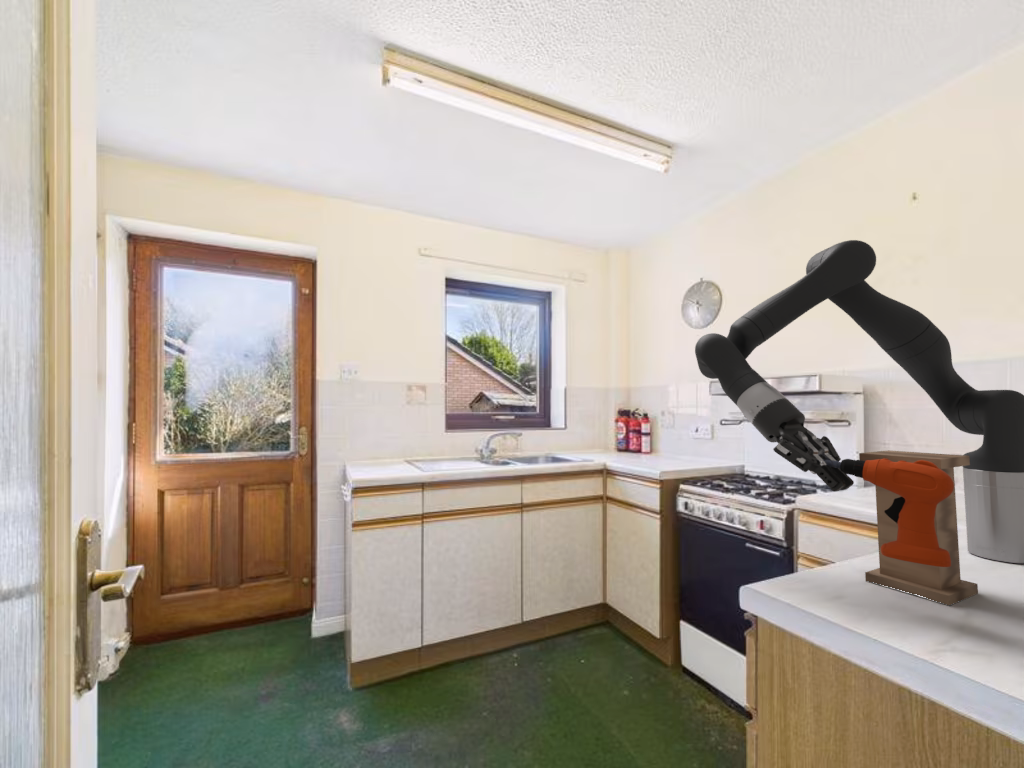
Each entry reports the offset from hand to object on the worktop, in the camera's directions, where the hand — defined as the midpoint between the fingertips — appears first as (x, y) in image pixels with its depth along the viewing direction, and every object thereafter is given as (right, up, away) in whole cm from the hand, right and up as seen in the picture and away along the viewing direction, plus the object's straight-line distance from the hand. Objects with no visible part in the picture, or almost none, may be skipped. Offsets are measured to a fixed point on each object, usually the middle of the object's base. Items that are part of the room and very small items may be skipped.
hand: (844, 487), depth 73 cm
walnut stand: (+14, -17, +2) cm, 22 cm away
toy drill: (+2, -9, -4) cm, 10 cm away
